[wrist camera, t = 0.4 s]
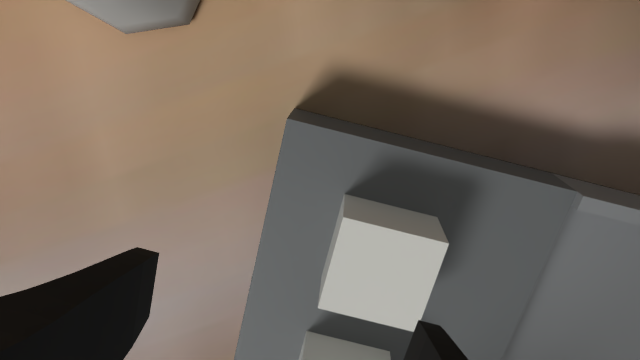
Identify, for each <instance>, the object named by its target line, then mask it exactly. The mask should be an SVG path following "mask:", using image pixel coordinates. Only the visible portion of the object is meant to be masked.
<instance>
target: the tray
mask: <svg viewBox="0 0 640 360" xmlns="http://www.w3.org/2000/svg"><path fill="white" fill-rule="evenodd" d="M552 174H553V173H552ZM554 175H555V176H556V177H558V178H559V179H561V180H562V181H563V182H565V183H566V184H567V185H569V186H570V187H572V188H573V189H574V190H576V191H577V194H576V196H575V198H574V201H573V203H572V205H571V207H570V209H569V212H568V214H567V216H566V218H565V220H564V223H563V225H562V227H561V229H560V231H559V234H558V236H557V238H556V240H555V243H554V245H553V247H552V249H551V251H550V254H549V256H548V258H547V260H546V262H545V265H544V267H543V269H542V271H541V273H540V276H539V278H538V280H537V282H536V285H535V287H534V289H533V291H532V293H531V296H530V298H529V300H528V302H527V304H526V307H525V309H524V311H523V313H522V315H521V318H520V320H519V322H518V324H517V327H516V329H515V331H514V333H513V335H512V338H511V340H510V342H509V344H508V346H507V349H506V351H505V353H504V355H503V357H502V360H640V195H636V194H632V193H628V192H624V191H620V190H616V189H612V188H608V187H605V186H601V185H597V184H593V183H589V182H585V181H581V180H577V179H573V178H569V177H565V176H561V175H557V174H554Z"/></svg>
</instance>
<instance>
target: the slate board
mask: <svg viewBox="0 0 640 360" xmlns="http://www.w3.org/2000/svg"><path fill="white" fill-rule="evenodd" d="M344 194H347V195H351V196H355V197H359V198H363V199H367V200H371V201H375V202H379V203H383V204H387V205H391V206H395V207H399V208H403V209H407V210H411V211H415V212H419V213H423V214H427V215H431V216H435V217H437V218H438V220H439V222H440V224H441V227H442V229H443V231H444V233H445V236H446V238H447V240H448V242H449V245H448V248H447V251H446V254H445V256H444V259H443V262H442V264H441V267H440V270H439V272H438V275H437V278H436V281H435V283H434V286H433V289H432V291H431V294H430V297H429V300H428V302H427V305H426V308H425V310H424V313H423V316H422V318H421V321H424V322H428V323H432V324H436V325H440V326H441V327H442V328H443V329H444V330H445V331H446V333H447V334H448V335H449V336H450V337H451V339H452V340H453V341H454V342H455V344H456V345H457V346H458V347H459V349H460V350H461V351H462V352H463V354H464V355H465V356H466V357H467V359H468V360H502V357H503V355H504V353H505V351H506V349H507V346H508V344H509V342H510V340H511V338H512V335H513V333H514V331H515V329H516V327H517V324H518V322H519V320H520V318H521V315H522V313H523V311H524V309H525V307H526V304H527V302H528V300H529V298H530V296H531V293H532V291H533V289H534V287H535V285H536V282H537V280H538V278H539V276H540V273H541V271H542V269H543V267H544V265H545V262H546V260H547V258H548V256H549V254H550V251H551V249H552V247H553V245H554V243H555V240H556V238H557V236H558V234H559V231H560V229H561V227H562V225H563V223H564V220H565V218H566V216H567V214H568V212H569V209H570V207H571V205H572V203H573V201H574V198H575V196H576V194H577V191H576V190H574V189H573V188H572V187H570V186H569V185H567V184H566V183H565V182H563V181H562V180H561V179H559V178H558V177H556V176H555V175H554V174H552V173H549V172H545V171H541V170H537V169H533V168H529V167H525V166H521V165H517V164H513V163H510V162H506V161H502V160H498V159H494V158H490V157H486V156H482V155H478V154H474V153H470V152H466V151H462V150H458V149H454V148H450V147H446V146H442V145H438V144H434V143H430V142H426V141H422V140H418V139H414V138H411V137H407V136H403V135H399V134H395V133H391V132H387V131H383V130H379V129H375V128H371V127H367V126H363V125H359V124H355V123H351V122H347V121H343V120H339V119H335V118H331V117H327V116H323V115H319V114H316V113H312V112H308V111H304V110H300V109H296V108H294V110H293V111H292V112H291V114H290V115H289V117H288V118H287V121H286V126H285V130H284V135H283V139H282V144H281V148H280V153H279V157H278V162H277V166H276V171H275V176H274V180H273V185H272V189H271V194H270V198H269V203H268V207H267V212H266V216H265V221H264V226H263V230H262V235H261V239H260V244H259V248H258V253H257V257H256V262H255V266H254V271H253V276H252V280H251V285H250V289H249V294H248V298H247V303H246V307H245V312H244V316H243V321H242V326H241V330H240V335H239V339H238V344H237V348H236V353H235V357H234V360H299V356H300V353H301V349H302V345H303V342H304V338H305V334H306V331H309V332H313V333H317V334H321V335H325V336H329V337H333V338H337V339H341V340H346V341H350V342H354V343H358V344H362V345H366V346H370V347H374V348H378V349H382V350H386V351H390V357H391V360H403V359H404V357H405V354H406V351H407V349H408V346H409V343H410V341H411V338H412V335H413V333H414V332H412V331H408V330H404V329H400V328H396V327H392V326H388V325H384V324H379V323H375V322H371V321H367V320H363V319H359V318H355V317H351V316H347V315H343V314H339V313H335V312H331V311H327V310H323V309H319V308H318V301H319V293H320V285H321V277H322V273H323V269H324V266H325V262H326V258H327V255H328V251H329V248H330V244H331V240H332V237H333V233H334V229H335V226H336V222H337V219H338V215H339V211H340V208H341V204H342V200H343V197H344Z"/></svg>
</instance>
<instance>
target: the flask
mask: <svg viewBox="0 0 640 360" xmlns="http://www.w3.org/2000/svg"><path fill="white" fill-rule="evenodd" d="M66 1H68V2H70V3H72V4H73V5H75V6H77V7H79V8H80V9H82V10H84V11H86V12H88V13H89V14H91V15H93V16H95V17H97V18H98V19H100V20H102V21H104V22H106V23H107V24H109V25H111V26H113V27H115V28H116V29H118V30H120V31H122V32H124V33H125V34H129V33H136V32H142V31H149V30H155V29H162V28H169V27H175V26H182V25H188V24H190V22H191V20H192V17H193V15H194V13H195V10H196V8H197V6H198V3H199V1H200V0H66Z"/></svg>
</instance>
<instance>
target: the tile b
mask: <svg viewBox="0 0 640 360" xmlns="http://www.w3.org/2000/svg"><path fill="white" fill-rule="evenodd" d="M448 245H449V242H448V240H447V238H446V236H445V233H444V231H443V229H442V227H441V224H440V222H439V220H438V218H437V217H435V216H431V215H427V214H423V213H419V212H415V211H411V210H407V209H403V208H399V207H395V206H391V205H387V204H383V203H379V202H375V201H371V200H367V199H363V198H359V197H355V196H351V195H347V194H344V197H343V200H342V204H341V208H340V211H339V215H338V219H337V222H336V226H335V229H334V233H333V237H332V240H331V244H330V248H329V251H328V255H327V258H326V262H325V266H324V269H323V273H322V277H321V285H320V293H319V301H318V308H319V309H323V310H327V311H331V312H335V313H339V314H343V315H347V316H351V317H355V318H359V319H363V320H367V321H371V322H375V323H379V324H384V325H388V326H392V327H396V328H400V329H404V330H408V331H412V332H414V330H415V327H416V325H417V322H418V320H421V318H422V316H423V313H424V310H425V308H426V305H427V302H428V300H429V297H430V294H431V291H432V289H433V286H434V283H435V281H436V278H437V275H438V272H439V270H440V267H441V264H442V262H443V259H444V256H445V254H446V251H447V248H448Z"/></svg>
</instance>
